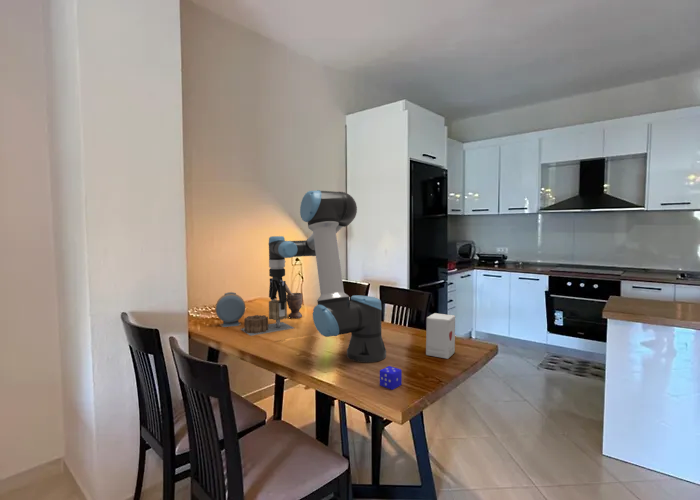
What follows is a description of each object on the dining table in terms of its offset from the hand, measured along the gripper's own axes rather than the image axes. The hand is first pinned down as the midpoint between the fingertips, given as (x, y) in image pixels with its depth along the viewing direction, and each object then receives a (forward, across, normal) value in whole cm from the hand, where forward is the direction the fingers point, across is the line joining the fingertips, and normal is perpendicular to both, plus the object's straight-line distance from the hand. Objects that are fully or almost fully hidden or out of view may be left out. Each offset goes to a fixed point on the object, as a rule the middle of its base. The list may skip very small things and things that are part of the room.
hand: (277, 314), depth 184 cm
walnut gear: (+6, 0, +11) cm, 13 cm away
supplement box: (+8, -70, -38) cm, 80 cm away
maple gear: (+2, 0, 0) cm, 2 cm away
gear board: (+8, 0, +6) cm, 9 cm away
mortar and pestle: (+8, +18, -16) cm, 26 cm away
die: (+8, -81, -2) cm, 81 cm away
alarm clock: (+8, +18, +18) cm, 26 cm away
